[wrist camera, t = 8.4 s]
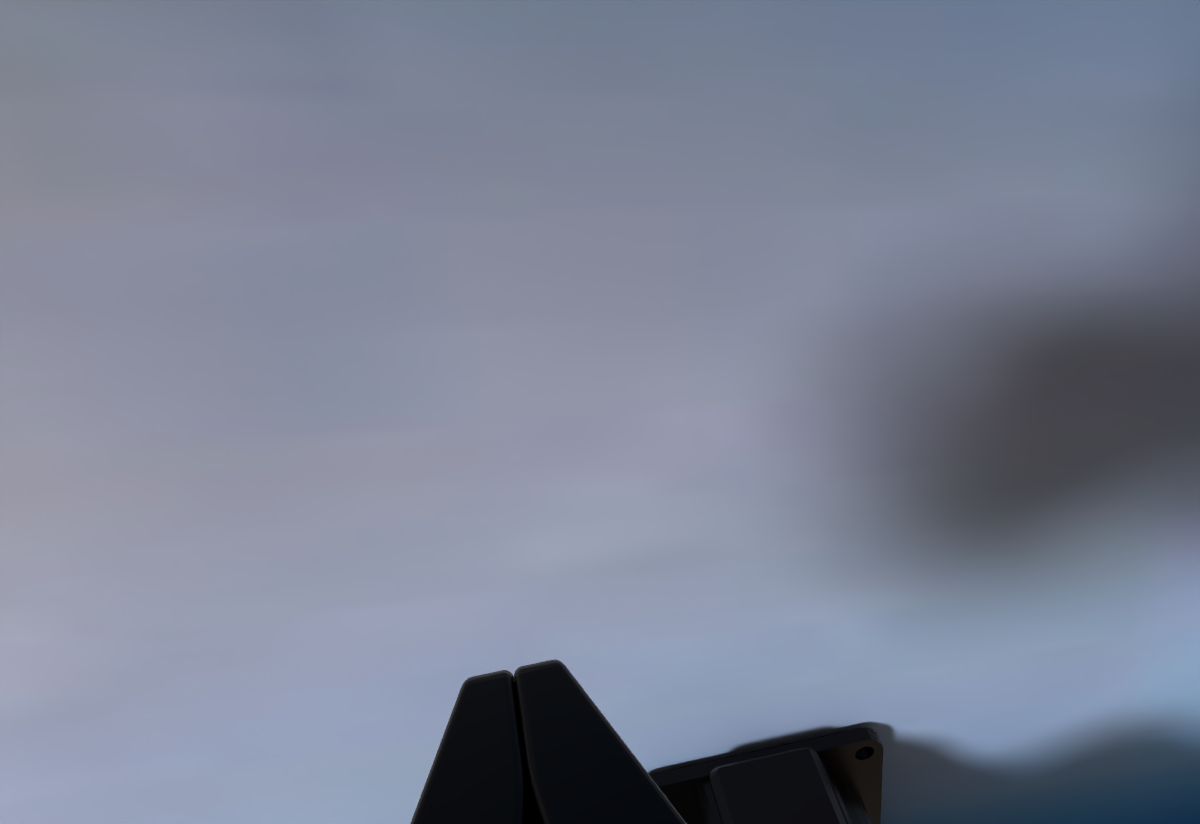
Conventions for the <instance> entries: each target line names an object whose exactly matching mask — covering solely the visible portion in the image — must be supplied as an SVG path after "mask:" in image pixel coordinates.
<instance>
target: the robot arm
mask: <svg viewBox="0 0 1200 824" xmlns="http://www.w3.org/2000/svg"><path fill="white" fill-rule="evenodd" d="M882 764H883V747H882V744H881V742H880V740H879V738H878V735H877V733H876V732H875V731H874V730H872V729H869V728H860V729H855V730H851V731H846V732H842V733H837V734H833V735H828V736H824V737H819V738H815V739H810V740H806V741H801V742H796V743H792V744H787V745H783V746H778V747H774V748H769V749H765V750H760V751H756V752H751V753H747V754H742V755H738V756H733V757H729V758H724V759H720V760H715V761H711V762H706V763H702V764H697V765H693V766H688V767H684V768H679V769H675V770H670V771H666V772H661V773H657V774H652V775H649V774H648V773H647V771H646V770H645V769H644V768H643V766H642V765H641V764H640V762H639V761H638V760H637V758H636V757H635V756H634V754H633V753H632V752H631V751H630V749H629V748H628V747H627V745H626V744H625V743H624V741H623V740H622V739H621V738H620V736H619V735H618V734H617V732H616V731H615V730H614V728H613V727H612V726H611V725H610V723H609V722H608V721H607V719H606V718H605V717H604V715H603V714H602V713H601V712H600V710H599V709H598V708H597V706H596V705H595V704H594V702H593V701H592V700H591V699H590V697H589V696H588V695H587V693H586V692H585V691H584V689H583V688H582V687H581V686H580V684H579V683H578V682H577V680H576V679H575V678H574V676H573V675H572V674H571V673H570V671H569V670H568V669H567V667H566V666H565V665H564V664H563V663H562V662H560V661H558V660H550V661H545V662H540V663H535V664H531V665H526V666H521V667H519V668H518V669H517V670H516V671H515V673H514V676H513V675H512V673H511V672H509V671H507V670H502V671H498V672H493V673H488V674H483V675H479V676H474V677H470V678H468V679H467V680H466V681H465V682H464V683H463V685H462V687H461V689H460V692H459V695H458V697H457V700H456V703H455V706H454V708H453V711H452V714H451V716H450V719H449V722H448V724H447V727H446V730H445V732H444V735H443V738H442V740H441V743H440V746H439V749H438V751H437V754H436V757H435V759H434V762H433V765H432V767H431V770H430V773H429V775H428V778H427V781H426V783H425V786H424V789H423V791H422V794H421V797H420V800H419V802H418V805H417V808H416V810H415V813H414V816H413V818H412V821H411V824H880V814H881V789H882Z"/></svg>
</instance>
